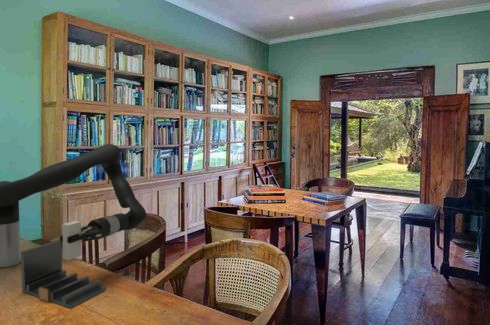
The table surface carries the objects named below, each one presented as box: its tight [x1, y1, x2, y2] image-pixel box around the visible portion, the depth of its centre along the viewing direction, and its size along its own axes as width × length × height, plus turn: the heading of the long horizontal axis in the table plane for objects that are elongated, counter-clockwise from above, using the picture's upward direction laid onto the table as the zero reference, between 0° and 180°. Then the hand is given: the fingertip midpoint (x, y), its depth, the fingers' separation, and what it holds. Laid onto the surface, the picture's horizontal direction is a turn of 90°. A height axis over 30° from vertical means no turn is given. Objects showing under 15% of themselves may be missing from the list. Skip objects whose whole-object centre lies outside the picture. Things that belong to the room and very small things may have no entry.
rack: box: [20, 239, 107, 309], centre depth 119 cm, size 23×15×14 cm, turn 65°
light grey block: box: [61, 220, 82, 261], centre depth 121 cm, size 3×5×12 cm, turn 156°
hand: (64, 239), depth 118 cm, fingers closed on light grey block, 3 cm apart
